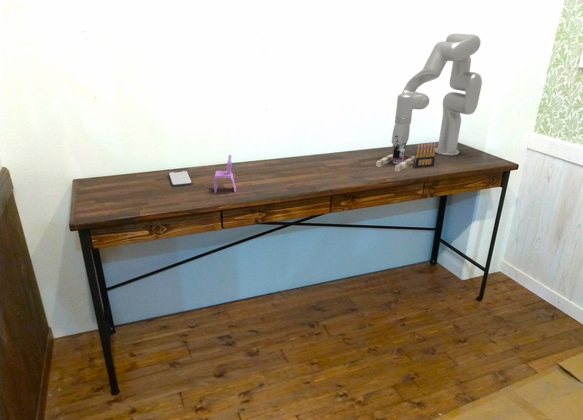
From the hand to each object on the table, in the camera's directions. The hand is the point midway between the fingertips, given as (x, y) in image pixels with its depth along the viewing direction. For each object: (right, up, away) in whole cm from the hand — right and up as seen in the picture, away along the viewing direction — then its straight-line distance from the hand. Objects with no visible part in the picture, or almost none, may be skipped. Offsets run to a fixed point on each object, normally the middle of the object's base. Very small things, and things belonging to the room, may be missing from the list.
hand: (398, 156), depth 226 cm
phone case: (-102, -14, -25) cm, 106 cm away
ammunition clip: (+11, -6, -3) cm, 13 cm away
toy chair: (-81, -18, -35) cm, 90 cm away
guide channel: (-1, -4, 0) cm, 4 cm away
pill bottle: (0, -3, +1) cm, 4 cm away
